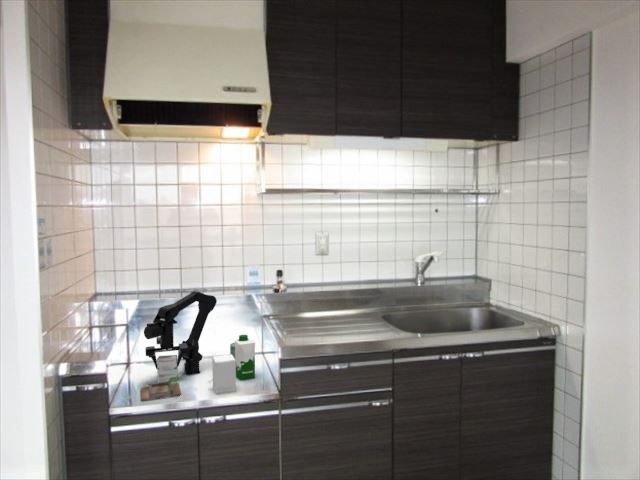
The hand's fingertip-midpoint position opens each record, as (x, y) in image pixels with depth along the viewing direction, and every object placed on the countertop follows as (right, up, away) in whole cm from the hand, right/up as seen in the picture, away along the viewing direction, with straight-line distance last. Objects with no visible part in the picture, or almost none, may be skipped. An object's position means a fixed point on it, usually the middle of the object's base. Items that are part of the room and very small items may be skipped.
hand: (167, 367), depth 217 cm
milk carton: (+35, -7, +4) cm, 36 cm away
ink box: (0, -7, +1) cm, 7 cm away
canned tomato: (+29, -5, +23) cm, 37 cm away
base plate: (+1, -7, -13) cm, 15 cm away
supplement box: (+29, -8, -12) cm, 32 cm away
